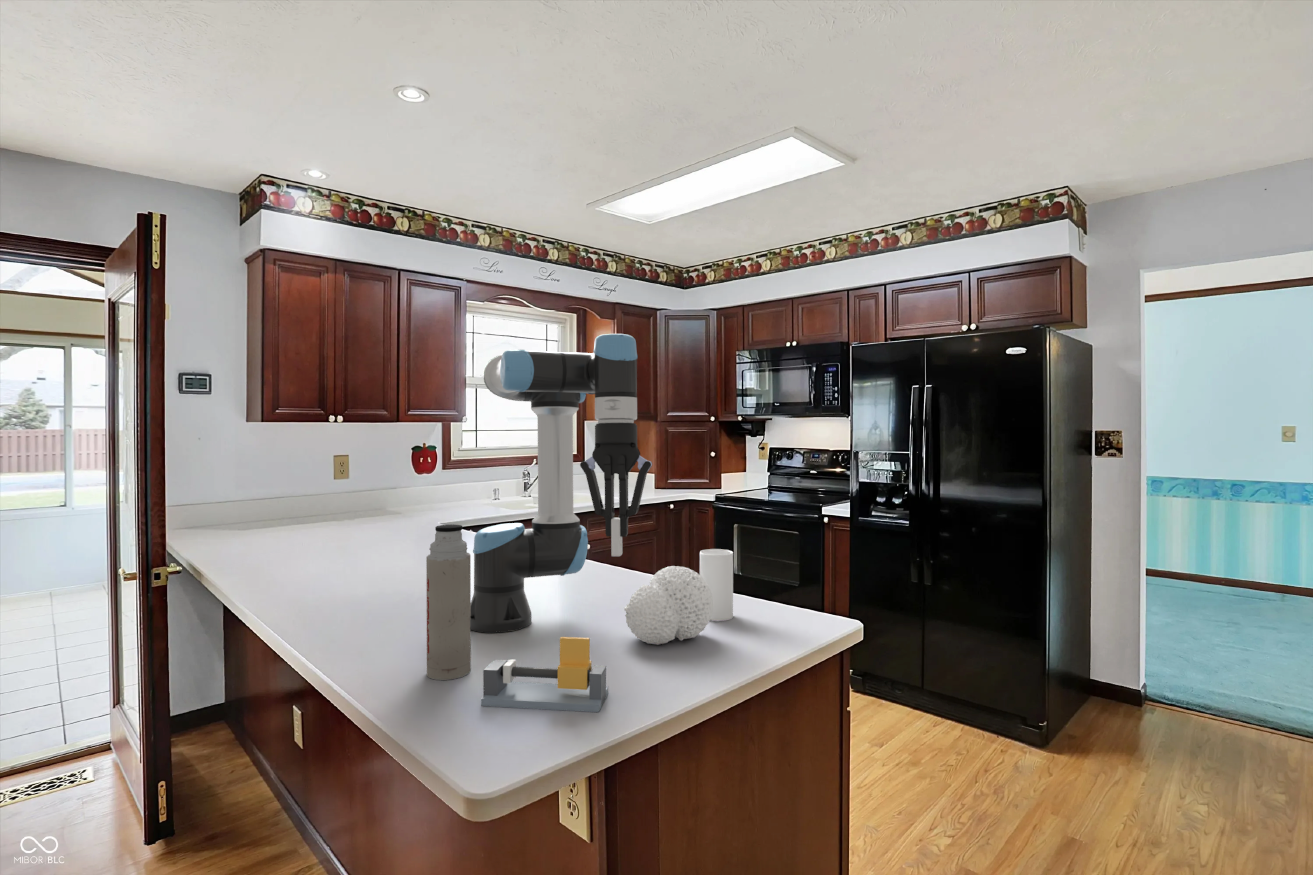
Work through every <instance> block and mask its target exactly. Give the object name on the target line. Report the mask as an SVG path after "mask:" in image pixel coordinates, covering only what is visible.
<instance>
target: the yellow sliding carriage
mask: <svg viewBox="0 0 1313 875" xmlns="http://www.w3.org/2000/svg"><path fill="white" fill-rule="evenodd" d="M590 640H591V638H590V637H579V636H578V637H576V636H573V637H572V636H560V637H559V665H557V669H558V679H557V684H558V688H561V689H582V690H587V689H588V687H589V680H588V670H592V669H593V667H592V660H591V659H590V658H591V657H590V655H591V653H590V652H591V649H590V648H591V646H590V644H591V643H590Z"/></svg>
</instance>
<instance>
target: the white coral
mask: <svg viewBox="0 0 1313 875" xmlns="http://www.w3.org/2000/svg"><path fill="white" fill-rule="evenodd" d="M623 608H624V611H625V613H626V614H625V615H624V616H625V619H626V624H627V628H629V629H630V631H631V633H632V634H633V635H634V636H635V637H636V639H639V640H640V641H642V642H643V643H644V642H645V644H648V645H649V644H650V645H651V644H652V645H657V646H659V645H661V644H662V645H665V644H667V643H668V642H670V641H673V640H674V639H675V638H676V639H677V638H678V640H679V641H683V640H687V639H691V638H693V639H694V638H696V637H697V636H699V635H700V634H701V633H702V632H703V631H704V630H705V629H706V627H707V626H708V625H709V622H710V619H711V617H712V611H713V597H712V594H711V590H710V589H709V586H708V585H707V583H706V581H705V580H704V579H703V578H702V577H701V576H700V573H698V572H696V571H695V570H693V569H690V567H685V566H679V565H677V566H675V565H671V566H667V567H666V566H665V567H664V568H661V569H660V570H658V571H657V572H655V574H653V576H652V578H650V581H649V585H646V584H643V585H642V586H640V587H639V588H638V589H636V590H635V592H634V593H633V594H632V595H631V597H630V600H629V603H627V604H626V606H625V607H623Z"/></svg>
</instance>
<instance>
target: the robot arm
mask: <svg viewBox="0 0 1313 875" xmlns="http://www.w3.org/2000/svg"><path fill="white" fill-rule="evenodd" d="M637 372H638V352H637V342H636V338H634V337H633V336H632V335H630V334H624V333H608V334H607V333H605V334H600V335H598V336H596V337H595V339H594V347H593V352H592V353H590V352H589V353H588V352H567V351H566V352H565V351H563V352H562V351H545V350H544V351H543V350H540V351H539V350H526V349H514V350H513V349H508V350H505V351H504V352H503V353H502V354H500V355H496V356H494V357H493V358H491V359H490V360H489V361H488V362H487V363H486V365H485V366H484V369H483V373H482V375H483V376H482V378H483V382H484V384H485V386H486V388H487V389H488V390H489V392H491V393H492V394H493V395H495V396H497V397H500V398H502V399H506V400H509V401H515V402H530V409H531V411H532V412H533V413H534V414H535V415H536V417H537V512H538V513H537V515H536V516H535V517H534V518H533V519H532V520H531V528H525V525H524V524H523V523H521V522H514V523H513V522H512V523H510V522H509V523H500V524H496V525H491V526H487V527H484V528H482V529H481V528H480V529H479V530H478V531H477V532H476V533H475V534H474V538H473V549H472V553H473V594H472V596H471V597H472V598H471V618H470V631H474V632H478V633H490V634H492V633H494V634H495V633H496V634H497V633H506V632H507V633H508V632H513V631H518V630H521V629H524V628H526V627H528V626H530V625H531V624H532V621H533V620H532V617H533V616H532V609H531V606H530V605H529V602H528V601H529V600H528V598H527V595H526V592H525V579H526V578H527V579H528V578H529V579H530V578H541V577H550V576H551V577H552V576H560V577H561V576H563V577H564V576H566V575H572V574H577V573H579V572H580V571H581V570H582V568H583V567H584V564H585V562H586V560H587V559H586V558H587V554H588V546H589V545H588V544H589V539H588V532H587V529H586V527H585V526H583V525H582V524H580V522H581V521H580V518H579V516H577V514H575V513H574V446H573V445H574V440H573V438H574V436H573V435H574V433H573V429H574V427H573V424H574V423H573V422H574V421H573V419H574V418H573V416H574V415H575V414H576V412H578V411H579V410H580V408H579V406H580V405H579V404H582V403H584V401H585V399H586V397H587V394H588V395H594V420H596V421H598V422H597V423H596V424H595V425H594V449H593V451H592V453H591V454H592V455H591V456H590V457H589V458H588V459H585V460H584V461H581V462H579V463H580V464H579V466H580V468H581V469H582V471H583V473H584V474H585V477H586V482H587V485H588V489H589V493H590V498H591V501H592V502H591V503H592V505H593V509H594V513H595V514H596V515H597V516H601V517H603V518H604V522H605V526H604V527H605V536H606V537H610V538H611V539H610V540H611V542H610V543H611V544H610V546H611V548H610V549H611V552H610V553H611V557H621V556H622V555H623V537H627V536H628V534H629V517H631V516H635V515H636V514H637V513H638V512H639V510H640V506H641V501H642V496H643V493H644V492H643V491H644V488H645V485H646V484H645V483H646V480H647V479H646V478H647V474H648V473H649V471H650V470H651V468H652V467H653V462H652V461H651V460H647V459H646V458H645V457H643V456H641V451H640V449H639V447H638V425H637V423H635V421H636V420H637V419H638V390H637V389H638V379H637V378H638V373H637ZM636 464H637V468H638V470H639V471H638V474H637V477H636V482H635V487H634V489H633V494H632V495H633V496H632V499H631V503H630V507H629V473H630V472H631V470H632V469H633V468H634V466H635V465H636ZM596 465H597V466H598V467H599V469H600V470H601V471H602V472H603V478H604V504H603V499H602V495H601V490H600V487H599V483H598V479H597V475H596V471H595V469H596ZM615 474H617V475H618V494H619V495H618V498H619V500H618V501H619V502H618V503H619V512H618V514H619V515H618V517H615Z"/></svg>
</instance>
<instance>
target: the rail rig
mask: <svg viewBox="0 0 1313 875" xmlns="http://www.w3.org/2000/svg"><path fill="white" fill-rule="evenodd" d="M482 673H483V675H482V676H483V678H482V679H483V685H482V686H483V688H482V690H483V691H482V692H483V696H482V697H481V698H480V706H481V707H495V708H496V707H498V708H499V707H500V708H514V709H532V710H533V709H534V710H549V711H550V710H551V711H553V710H554V711H555V710H556V711H569V712H570V711H572V712H588V713H589V712H590V713H591V712H592V713H599V712H601V708H602V706H603V704H604V703H605V700H606V698H607V697H608V695H609V685H607V665H599V664H598V665H597V664H596V665H594V666H593V667H592V670H588V680H589V687H588V689H587V690H582V689H561V688H558V683H551V682H550V683H547V682H529V681H528V682H525V681H514V680H515V678H516V677H517V678H519V677H520V678H534V679H535V678H536V679H537V678H538V679H557V680H558V668H555V667H554V668H551V667H550V668H549V667H534V666H533V667H531V666H530V667H529V666H527V667H526V666H517V660H516V659H508V660H507V659H493V660H492V661H491V662H490V663H489V664H488V665H487V666H486V667H484V668H483V671H482Z"/></svg>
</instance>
